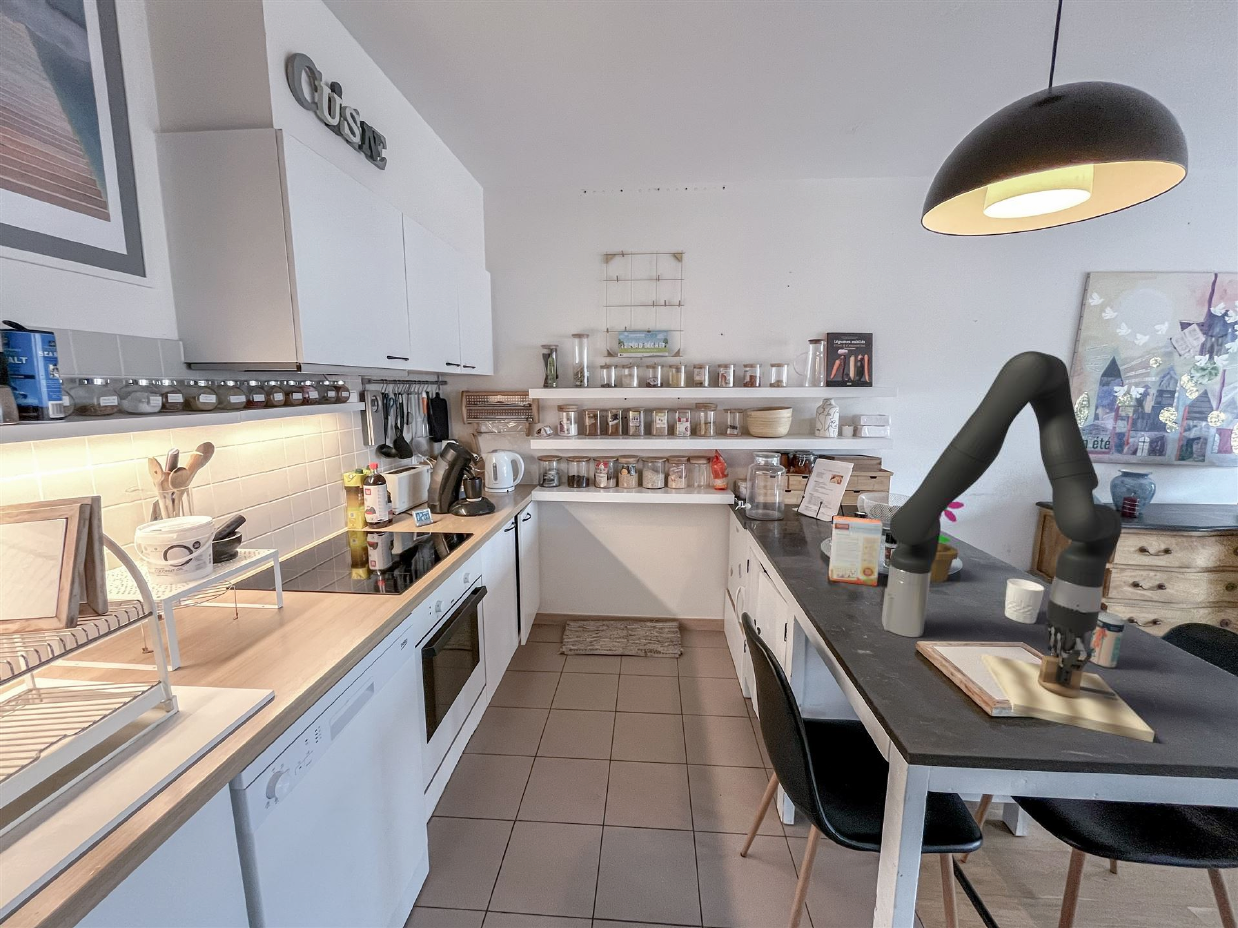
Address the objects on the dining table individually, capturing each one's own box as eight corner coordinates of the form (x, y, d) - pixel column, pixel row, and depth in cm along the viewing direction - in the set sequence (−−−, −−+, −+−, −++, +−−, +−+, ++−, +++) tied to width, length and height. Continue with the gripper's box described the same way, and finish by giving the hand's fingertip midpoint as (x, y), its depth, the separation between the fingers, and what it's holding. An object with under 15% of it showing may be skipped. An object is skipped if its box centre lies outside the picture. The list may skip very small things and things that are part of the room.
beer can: (1086, 654, 117) (1095, 608, 115) (1113, 662, 114) (1123, 615, 112) (1088, 663, 113) (1097, 616, 111) (1117, 671, 110) (1127, 622, 108)
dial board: (1012, 712, 96) (1014, 702, 95) (980, 661, 113) (982, 653, 113) (1152, 742, 88) (1154, 731, 88) (1095, 682, 106) (1097, 673, 105)
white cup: (1039, 617, 135) (1045, 584, 133) (1037, 628, 129) (1043, 593, 128) (1003, 608, 140) (1008, 576, 139) (1000, 617, 135) (1006, 584, 133)
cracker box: (873, 579, 160) (880, 518, 156) (876, 587, 154) (884, 524, 150) (827, 573, 164) (833, 514, 160) (829, 580, 158) (835, 519, 155)
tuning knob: (1045, 692, 98) (1050, 665, 97) (1032, 674, 104) (1036, 649, 103) (1123, 707, 94) (1129, 679, 93) (1104, 688, 100) (1110, 662, 99)
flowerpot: (959, 576, 163) (972, 490, 158) (947, 588, 154) (959, 496, 149) (913, 564, 174) (923, 483, 169) (898, 574, 165) (908, 488, 160)
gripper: (1036, 585, 105) (1023, 658, 108) (1067, 613, 92) (1052, 694, 95) (1080, 591, 102) (1065, 665, 105) (1118, 620, 89) (1101, 704, 92)
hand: (1059, 679), depth 100 cm, fingers closed on tuning knob, 2 cm apart
